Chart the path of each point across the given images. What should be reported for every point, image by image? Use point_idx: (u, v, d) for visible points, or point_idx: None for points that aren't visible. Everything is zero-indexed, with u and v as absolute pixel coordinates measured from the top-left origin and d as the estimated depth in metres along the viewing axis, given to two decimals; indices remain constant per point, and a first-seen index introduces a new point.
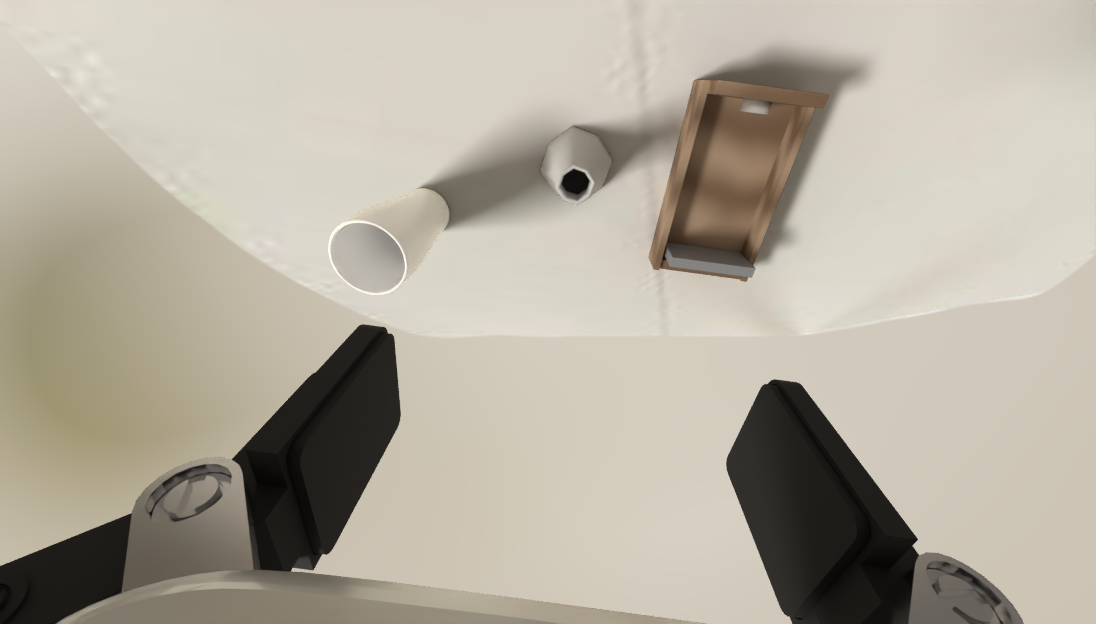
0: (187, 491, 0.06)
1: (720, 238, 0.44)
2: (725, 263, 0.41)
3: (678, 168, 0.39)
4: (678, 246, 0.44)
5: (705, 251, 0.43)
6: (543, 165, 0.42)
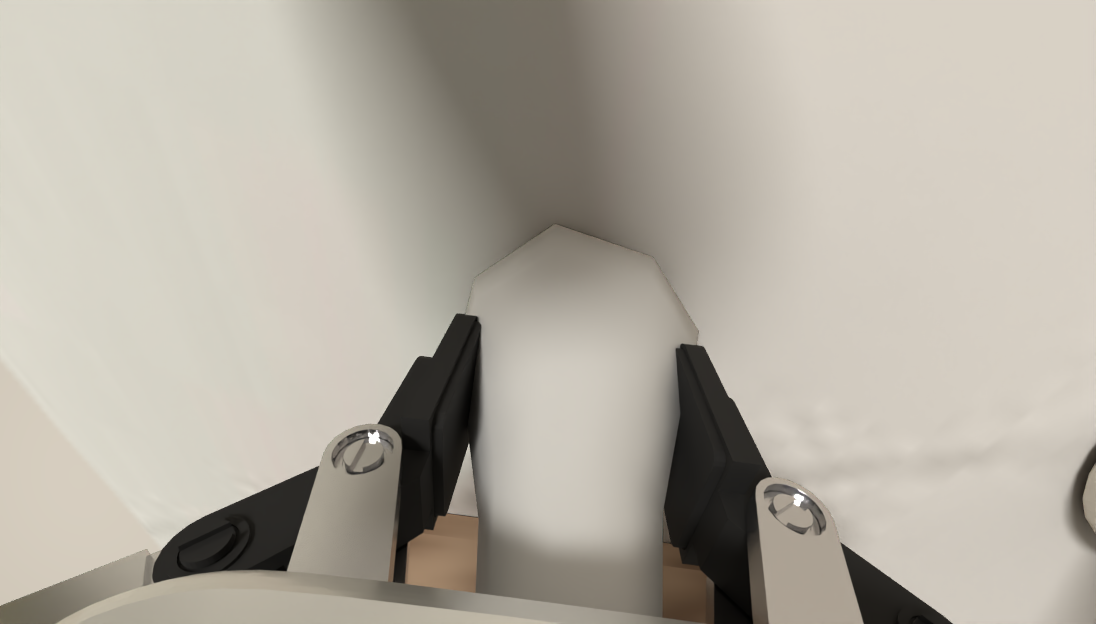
0: (361, 449, 0.07)
1: None
2: None
3: None
4: None
5: None
6: (579, 246, 0.10)
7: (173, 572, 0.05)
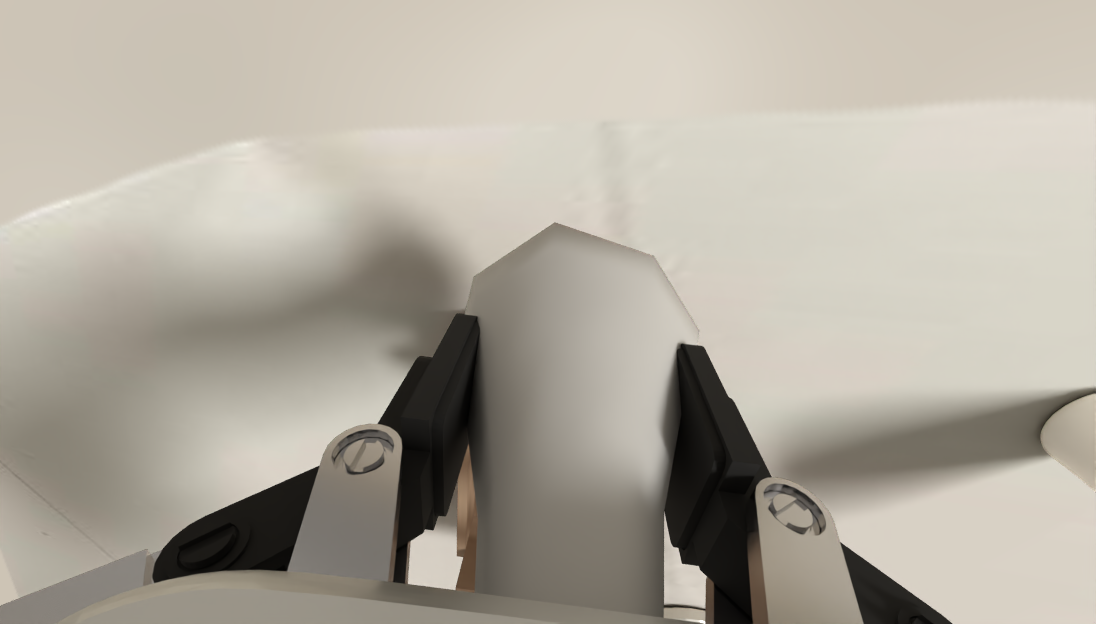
0: (361, 448, 0.07)
1: None
2: None
3: None
4: None
5: None
6: (579, 245, 0.10)
7: (173, 572, 0.05)
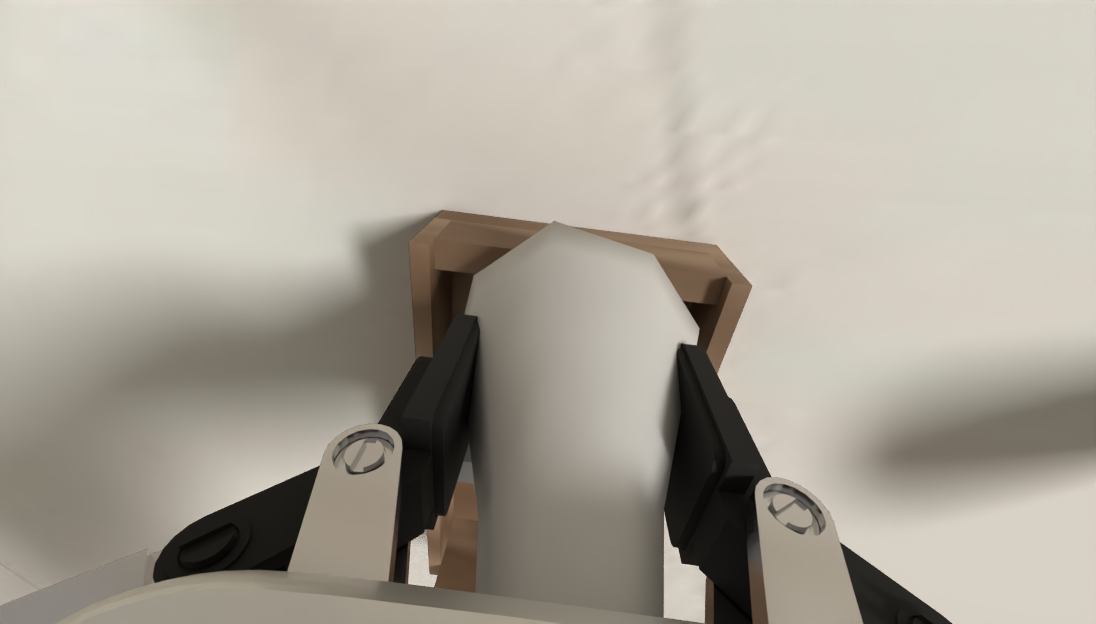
0: (361, 448, 0.07)
1: None
2: None
3: None
4: None
5: None
6: (578, 243, 0.10)
7: (174, 572, 0.05)
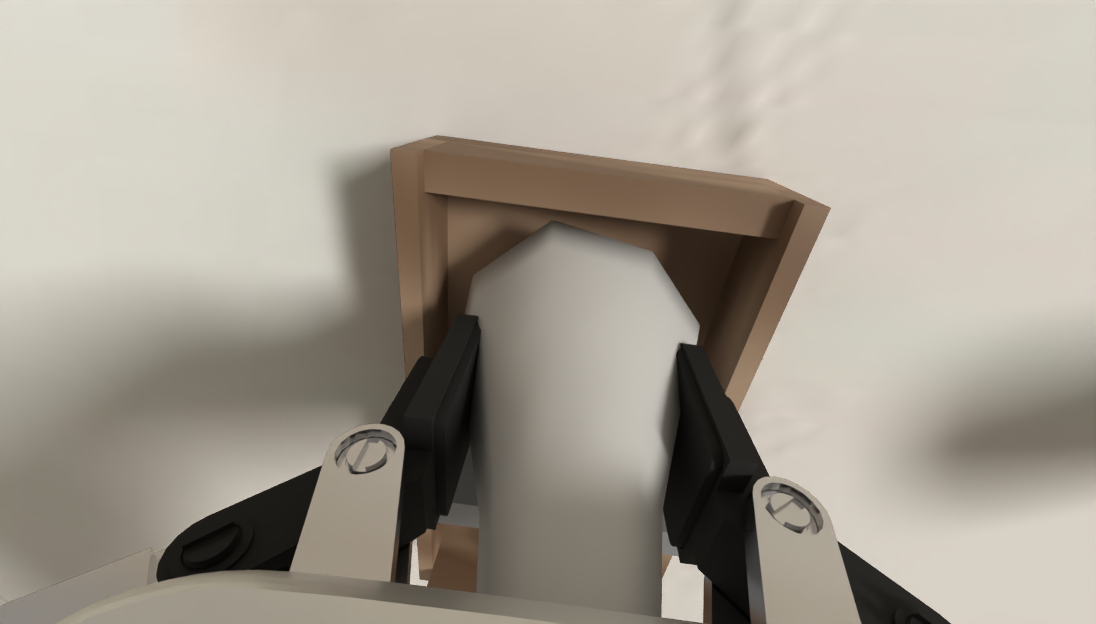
0: (364, 448, 0.07)
1: None
2: None
3: None
4: None
5: None
6: (577, 242, 0.10)
7: (177, 571, 0.05)
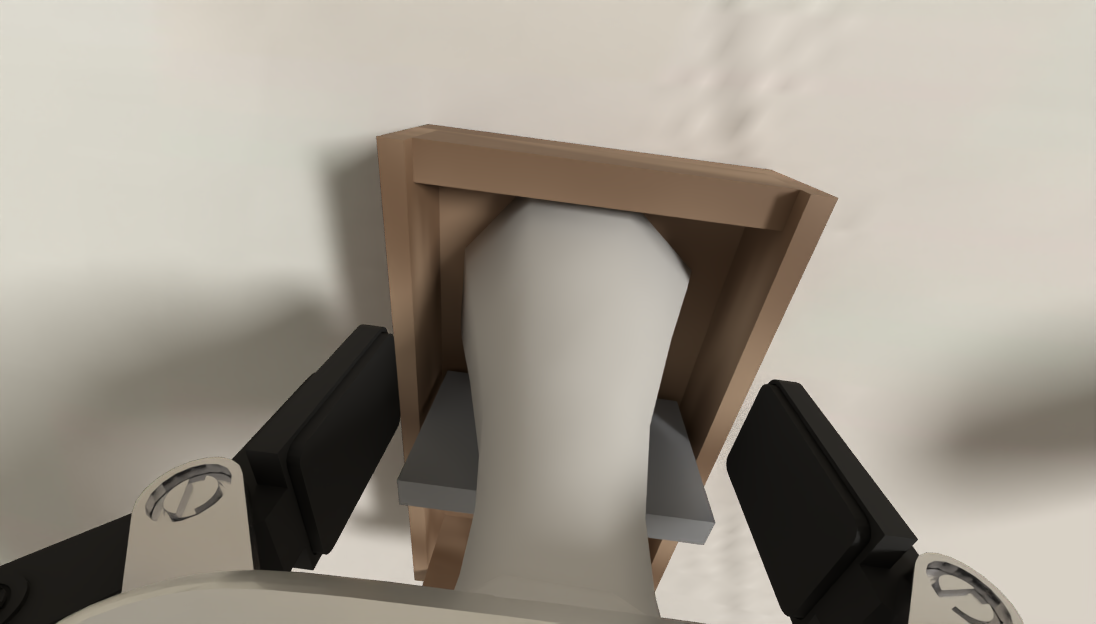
0: (187, 491, 0.06)
1: None
2: None
3: None
4: None
5: None
6: None
7: None
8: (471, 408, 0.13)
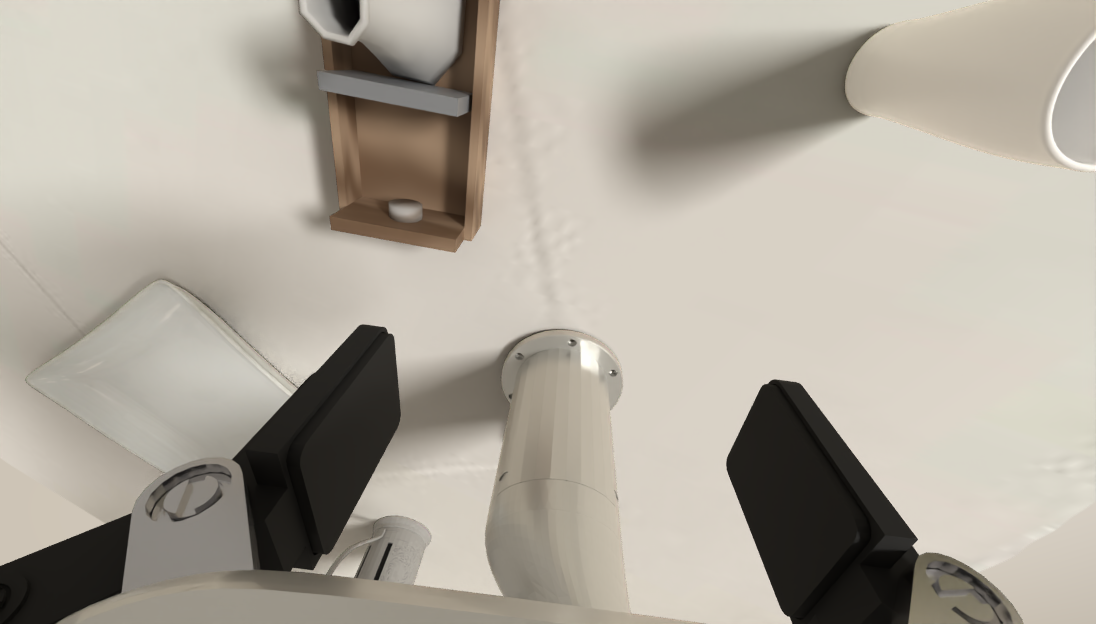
0: (187, 491, 0.06)
1: None
2: (370, 99, 0.25)
3: (480, 136, 0.28)
4: None
5: None
6: None
7: None
8: (361, 74, 0.26)
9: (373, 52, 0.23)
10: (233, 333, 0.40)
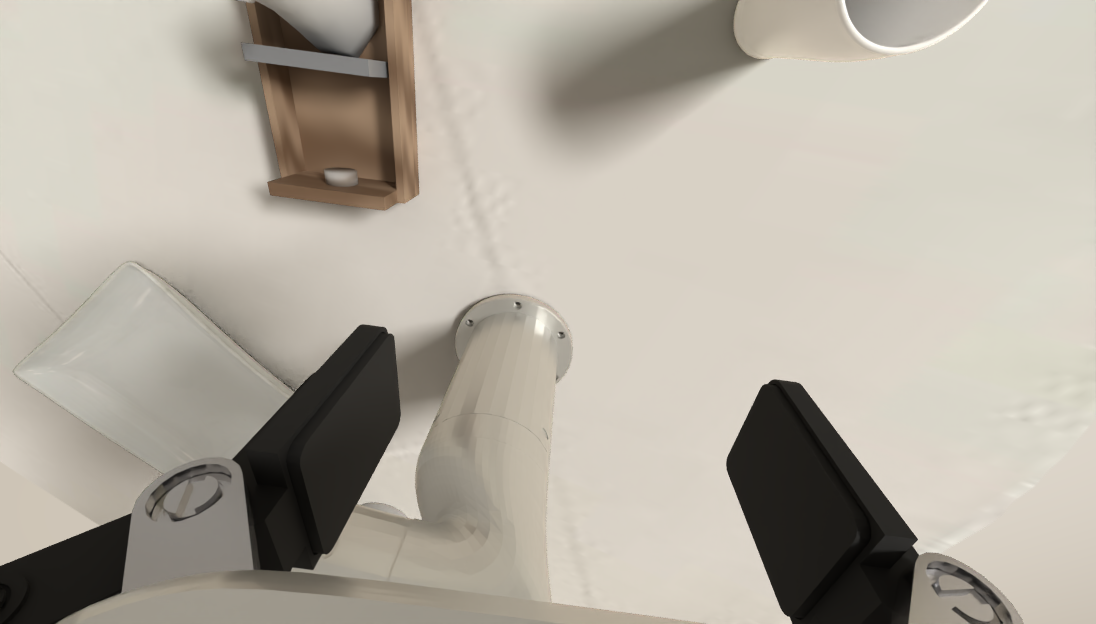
0: (187, 491, 0.06)
1: None
2: None
3: (402, 101, 0.30)
4: None
5: None
6: None
7: None
8: None
9: (289, 22, 0.26)
10: (200, 314, 0.43)
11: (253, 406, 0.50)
